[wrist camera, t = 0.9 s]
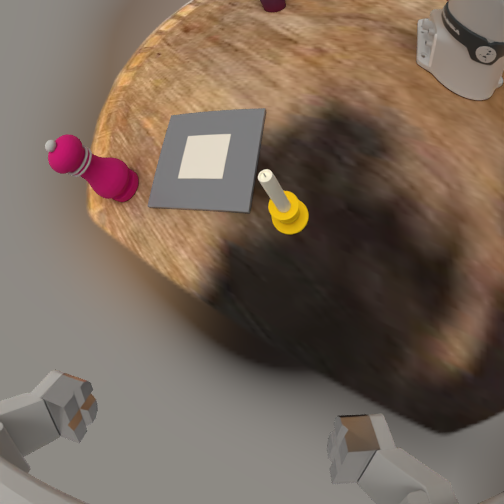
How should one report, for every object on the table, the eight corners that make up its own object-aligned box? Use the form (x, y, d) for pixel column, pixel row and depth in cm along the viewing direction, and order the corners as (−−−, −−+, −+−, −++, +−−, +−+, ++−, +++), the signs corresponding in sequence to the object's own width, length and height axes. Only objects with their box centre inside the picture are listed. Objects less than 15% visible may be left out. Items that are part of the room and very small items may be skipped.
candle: (265, 213, 44) (227, 170, 29) (294, 192, 43) (270, 139, 29) (285, 242, 43) (255, 210, 28) (316, 220, 42) (302, 177, 27)
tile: (173, 117, 52) (171, 115, 51) (266, 111, 47) (264, 108, 46) (150, 207, 50) (147, 206, 49) (249, 213, 45) (248, 211, 44)
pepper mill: (140, 163, 52) (65, 112, 33) (141, 197, 51) (58, 154, 32) (111, 176, 54) (36, 134, 35) (111, 209, 53) (29, 174, 34)
